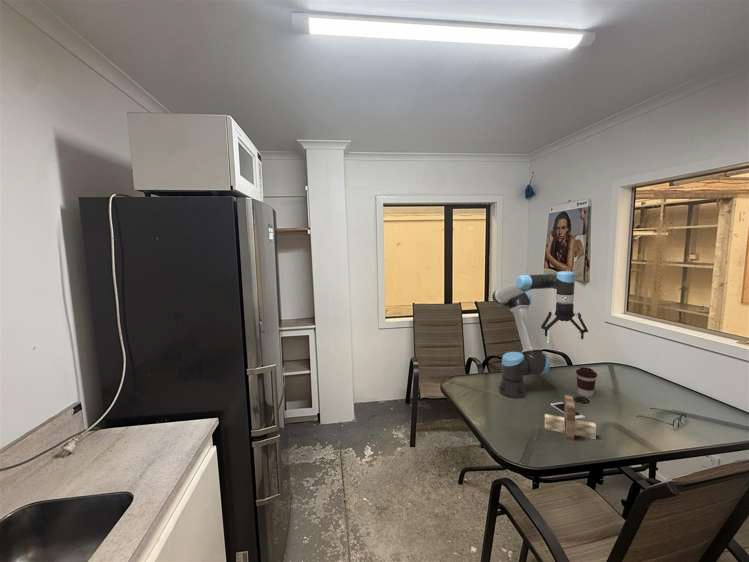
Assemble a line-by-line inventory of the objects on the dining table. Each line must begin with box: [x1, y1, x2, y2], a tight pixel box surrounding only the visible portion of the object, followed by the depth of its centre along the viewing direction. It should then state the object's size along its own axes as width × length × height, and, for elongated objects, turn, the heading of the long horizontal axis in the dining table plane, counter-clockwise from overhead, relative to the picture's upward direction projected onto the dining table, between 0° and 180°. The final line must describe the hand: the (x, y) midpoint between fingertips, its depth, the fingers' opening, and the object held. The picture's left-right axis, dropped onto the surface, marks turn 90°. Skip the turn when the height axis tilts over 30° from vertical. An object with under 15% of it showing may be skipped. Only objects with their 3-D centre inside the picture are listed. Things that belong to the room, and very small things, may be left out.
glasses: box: [636, 407, 687, 430], centre depth 153 cm, size 14×15×5 cm
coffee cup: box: [575, 366, 598, 398], centre depth 179 cm, size 10×10×15 cm
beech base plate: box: [544, 413, 597, 440], centre depth 145 cm, size 20×3×6 cm, turn 63°
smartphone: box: [550, 401, 586, 420], centre depth 163 cm, size 7×15×1 cm, turn 11°
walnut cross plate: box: [563, 395, 576, 441], centre depth 144 cm, size 12×3×15 cm, turn 153°
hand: (563, 343), depth 158 cm, fingers open, 13 cm apart
